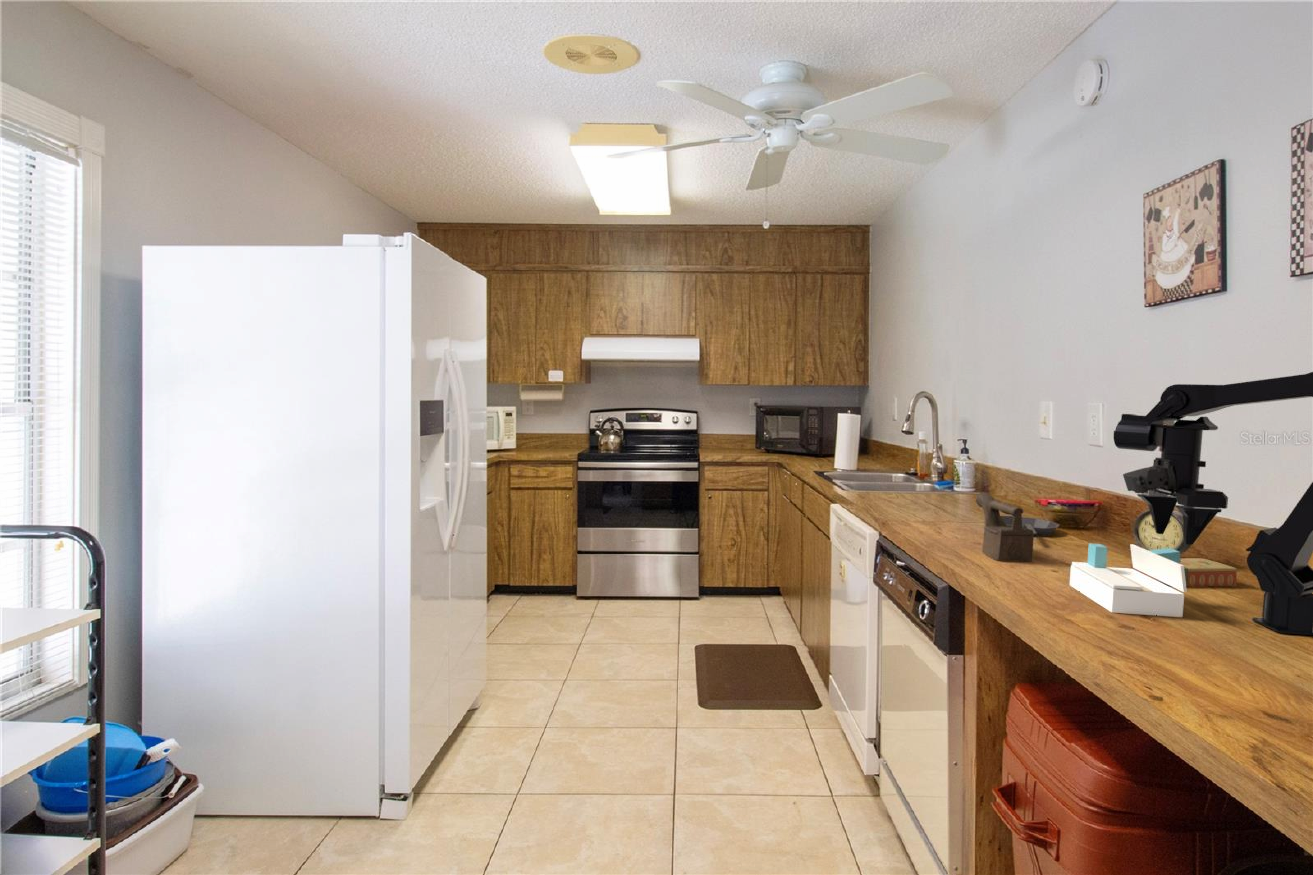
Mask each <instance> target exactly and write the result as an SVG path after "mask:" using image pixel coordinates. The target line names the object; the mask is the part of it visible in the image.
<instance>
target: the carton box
mask: <svg viewBox="0 0 1313 875" xmlns="http://www.w3.org/2000/svg"><path fill="white" fill-rule="evenodd" d="M1106 568H1107V569H1109V570H1111V571H1113V572H1115V573H1116V574H1118V575H1120V576H1122V577H1124V578H1126V579H1128V580H1130V581H1132V582H1134V583H1136V584H1137V585H1139V586H1141V587H1143V588H1142V590H1133V589H1118V588H1112V587H1111V586H1109V585H1107V584H1105V583H1104V582H1102V581H1100V580H1098V579H1097V578H1095V577H1093V576H1091V575H1090V574H1088V573H1086V572H1084V571H1083V570H1081V569H1079V568H1077V567H1076V566H1074V565H1072V564H1070V572H1069V573H1070V574H1069V586H1070V587H1072V588H1074V589H1075V590H1077V591H1078V592H1079V591H1080V592H1079V593H1081V594H1083V595H1084V596H1086V597H1087V598H1088V599H1090V600H1092V601H1093V602H1095V603H1096V604H1098V605H1100V606H1101V607H1103V608H1104V609H1106V610H1107V611H1109V612H1110V613H1115V614H1116V613H1117V614H1129V615H1130V614H1131V615H1145V616H1156V615H1157V616H1158V617H1170V618H1171V617H1173V618H1174V617H1175V618H1183V616H1184V615H1183V614H1184V602H1185V594H1184V592H1182V591H1180V590H1178V589H1177V590H1176V588H1174V587H1172V586H1167V585H1165V584H1163V583H1160V582H1158V581H1156V580H1154V579H1152V578H1150V577H1148V576H1146V575H1144V574H1142V573H1140V572H1138V571H1136V570H1134V569H1130V568H1129V567H1128V568H1125V567H1124V568H1123V567H1110V566H1109V567H1108V566H1106Z"/></svg>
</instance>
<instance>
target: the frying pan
mask: <svg viewBox="0 0 1313 875" xmlns="http://www.w3.org/2000/svg"><path fill="white" fill-rule="evenodd" d="M1000 516H1001V519H1002V521H1003V522H1004V523H1005V524H1006V525H1007V526H1009V527H1012V524H1013V518H1014V516H1012V515H1000ZM1059 526H1060V524H1059V523H1056V522H1054V521H1052V520H1046V519H1041V518H1035V517H1028V516H1027V517H1026V516H1022V529H1030V530H1033V533H1034V537H1046V536H1051V535H1052V534H1053V533H1054V531H1055V530H1057V529H1058V527H1059Z"/></svg>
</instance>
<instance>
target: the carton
mask: <svg viewBox="0 0 1313 875" xmlns="http://www.w3.org/2000/svg"><path fill="white" fill-rule="evenodd" d="M1180 560H1181V563H1178V564H1181V565H1183V566H1184V572H1185V580H1186V586H1231V587H1232V588H1235V587H1237V574H1238V573H1237V570H1238V569H1237V567H1233V566H1230V565H1228V564H1224V563H1220V562H1218V561H1213V560H1210V559H1208V558H1202V557H1201V558H1200V557H1196V558H1195V557H1193V558H1191V557H1187V558H1186V557H1184V558H1183V557H1180ZM1129 569H1134V570H1136V571H1138V572H1140V573H1142V574H1144V575H1146V576H1148V577H1150V578H1152V579H1154V580H1156V581H1158V582H1160V583H1163V584H1165V585H1167V586H1169V587H1171V586H1170V585H1168V584H1166V583H1164V582H1162V581H1160V580H1158V579H1156V578H1154V577H1152V576H1149V575H1147V574H1145V573H1143V572H1141V571H1139V570H1137V569H1135V568H1133V564H1132V561H1131V563H1130V568H1129ZM1231 587H1230V588H1231Z"/></svg>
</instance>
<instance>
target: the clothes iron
mask: <svg viewBox="0 0 1313 875" xmlns="http://www.w3.org/2000/svg"><path fill="white" fill-rule="evenodd" d="M975 503H976V504H977V506H978V507H979V508H982V510H983V513H984V527H983V528H984V530H983V541H982V550H981V552H982V554H984V555H985V556H986V557H988V558H990V559H992V560H994V561H998V562H1033V553H1034V552H1033V551H1034V537H1035V536H1034V533H1033V530H1030V529H1022V517H1023V513H1024V510H1023V509H1022V508H1021V507H1018V506H1013V505H1012V504H1010V503H1006V502H1002V501H1000V500H998V499H995V498H994V497H993V496H992V495H991V494H990V493H989V492H988V491H982V492H979V493H978V494H977V495H976V497H975ZM1000 512H1001V513H1002V514H1006V515H1008V516H1014V518H1013V524H1012V527H1009V526H1007V525H1006V524H1005V523H1004V522H1003V521H1002V519H1001V516H1002V515H1001V514H1000Z"/></svg>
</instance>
